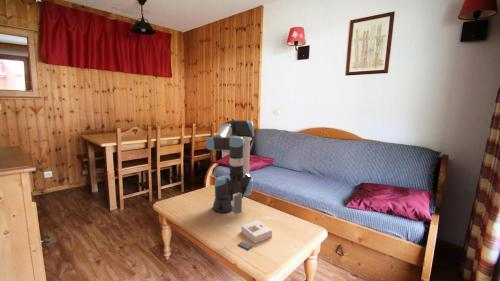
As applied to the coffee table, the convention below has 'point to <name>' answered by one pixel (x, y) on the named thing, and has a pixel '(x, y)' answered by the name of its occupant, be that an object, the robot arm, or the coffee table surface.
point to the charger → (237, 204)
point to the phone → (244, 245)
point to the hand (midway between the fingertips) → (236, 204)
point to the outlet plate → (256, 231)
